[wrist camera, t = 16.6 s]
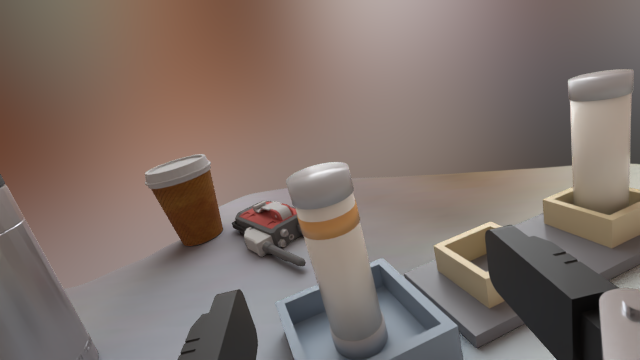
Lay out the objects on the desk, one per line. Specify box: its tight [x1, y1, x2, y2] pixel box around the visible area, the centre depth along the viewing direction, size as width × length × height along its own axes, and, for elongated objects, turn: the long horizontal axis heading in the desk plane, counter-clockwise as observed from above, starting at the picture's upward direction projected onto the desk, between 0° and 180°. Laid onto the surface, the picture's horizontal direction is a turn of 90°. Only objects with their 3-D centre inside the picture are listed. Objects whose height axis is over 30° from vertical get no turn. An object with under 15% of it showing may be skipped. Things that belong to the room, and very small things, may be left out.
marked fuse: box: [286, 162, 388, 360], centre depth 24 cm, size 4×4×13 cm
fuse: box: [568, 69, 633, 215], centre depth 29 cm, size 4×4×13 cm
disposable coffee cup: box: [145, 154, 223, 246], centre depth 53 cm, size 10×10×12 cm
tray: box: [275, 258, 463, 360], centre depth 26 cm, size 10×10×3 cm
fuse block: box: [404, 187, 640, 348], centre depth 30 cm, size 23×9×4 cm, turn 109°
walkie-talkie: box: [232, 201, 305, 266], centre depth 47 cm, size 9×4×20 cm
